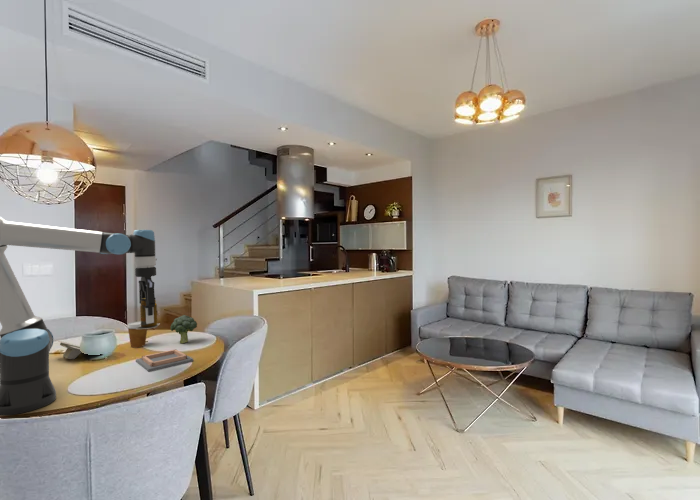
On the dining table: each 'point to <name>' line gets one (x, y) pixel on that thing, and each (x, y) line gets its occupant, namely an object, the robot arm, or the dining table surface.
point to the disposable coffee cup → (136, 334)
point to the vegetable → (183, 326)
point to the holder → (163, 360)
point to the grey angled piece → (70, 350)
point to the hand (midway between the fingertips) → (147, 321)
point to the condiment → (143, 316)
